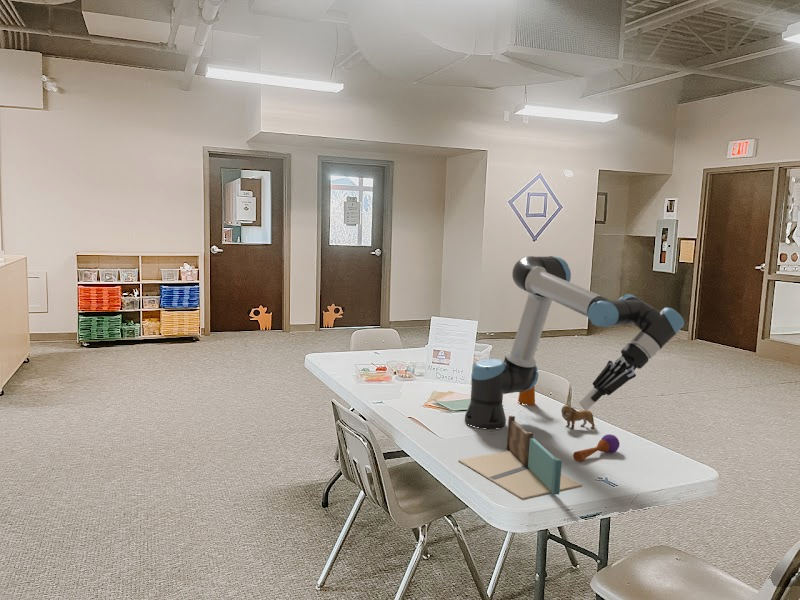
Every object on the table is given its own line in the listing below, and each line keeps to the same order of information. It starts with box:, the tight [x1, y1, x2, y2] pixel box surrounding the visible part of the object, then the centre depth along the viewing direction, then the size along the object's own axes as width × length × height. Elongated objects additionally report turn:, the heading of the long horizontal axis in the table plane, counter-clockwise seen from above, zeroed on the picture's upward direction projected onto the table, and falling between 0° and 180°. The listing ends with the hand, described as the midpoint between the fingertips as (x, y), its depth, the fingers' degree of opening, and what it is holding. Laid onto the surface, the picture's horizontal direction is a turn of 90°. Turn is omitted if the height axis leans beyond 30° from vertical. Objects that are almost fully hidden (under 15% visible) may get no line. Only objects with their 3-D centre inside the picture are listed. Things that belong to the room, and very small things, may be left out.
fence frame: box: [506, 415, 535, 468], centre depth 201 cm, size 18×2×11 cm, turn 10°
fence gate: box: [528, 437, 563, 495], centre depth 181 cm, size 20×2×10 cm, turn 10°
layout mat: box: [457, 450, 583, 500], centre depth 189 cm, size 30×22×1 cm
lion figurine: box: [561, 404, 596, 431], centre depth 235 cm, size 15×5×9 cm, turn 109°
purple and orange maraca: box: [572, 433, 620, 463], centre depth 207 cm, size 6×6×20 cm
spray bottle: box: [517, 348, 538, 406], centre depth 263 cm, size 7×11×26 cm, turn 111°
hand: (582, 406), depth 186 cm, fingers closed
